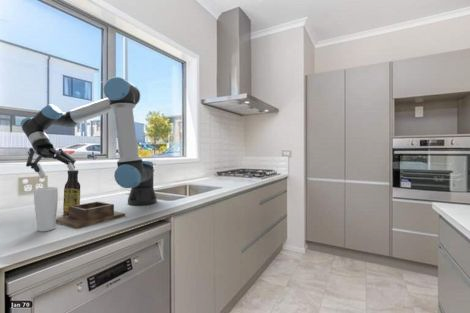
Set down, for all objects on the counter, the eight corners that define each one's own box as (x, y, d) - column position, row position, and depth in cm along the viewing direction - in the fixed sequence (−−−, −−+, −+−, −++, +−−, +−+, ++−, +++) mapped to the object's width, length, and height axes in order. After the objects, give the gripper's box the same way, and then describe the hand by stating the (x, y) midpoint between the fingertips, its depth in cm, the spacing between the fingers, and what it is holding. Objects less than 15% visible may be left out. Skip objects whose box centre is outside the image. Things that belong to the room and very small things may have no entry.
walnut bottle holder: (103, 211, 114) (103, 199, 114) (125, 216, 106) (125, 203, 106) (55, 222, 96) (55, 207, 96) (76, 228, 88) (76, 213, 88)
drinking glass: (62, 226, 90) (62, 187, 90) (49, 232, 84) (48, 190, 83) (44, 226, 90) (43, 187, 90) (29, 232, 83) (28, 190, 83)
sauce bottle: (60, 216, 105) (60, 170, 105) (66, 212, 111) (66, 169, 111) (77, 215, 107) (77, 170, 106) (82, 211, 113) (82, 169, 112)
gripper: (64, 148, 130) (82, 177, 124) (5, 148, 107) (24, 183, 101) (71, 138, 128) (89, 168, 122) (11, 136, 105) (31, 171, 99)
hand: (59, 175), depth 111 cm, fingers open, 13 cm apart
